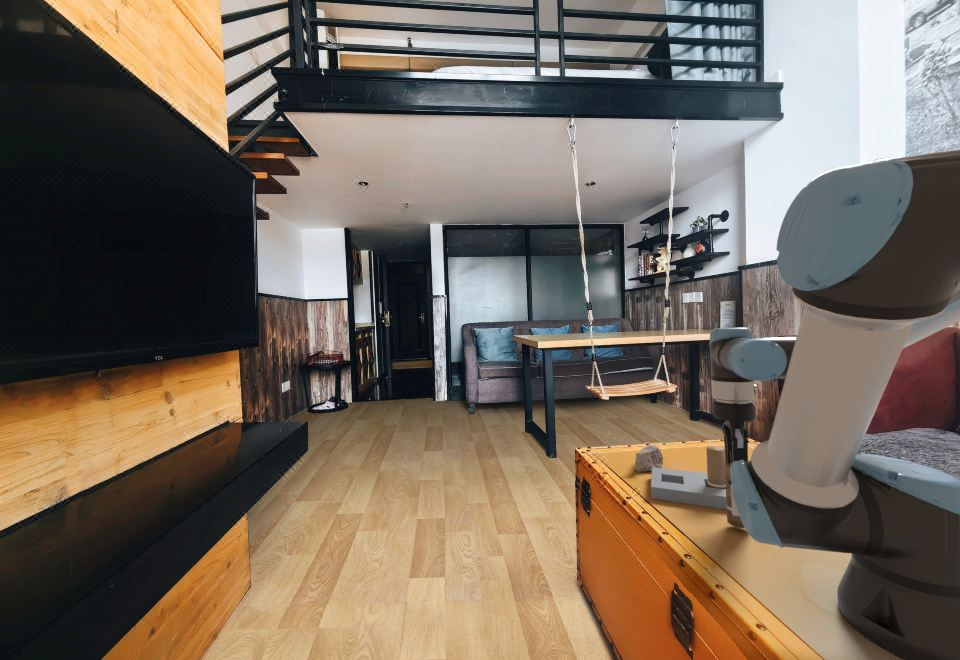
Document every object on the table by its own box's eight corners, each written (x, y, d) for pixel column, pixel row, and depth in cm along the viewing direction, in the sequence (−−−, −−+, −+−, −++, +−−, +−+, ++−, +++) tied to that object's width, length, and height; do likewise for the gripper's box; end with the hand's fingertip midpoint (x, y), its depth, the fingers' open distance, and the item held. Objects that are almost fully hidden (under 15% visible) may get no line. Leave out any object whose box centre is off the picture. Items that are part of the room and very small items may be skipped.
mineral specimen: (658, 477, 107) (657, 456, 107) (632, 472, 111) (631, 452, 111) (666, 463, 117) (666, 443, 117) (642, 459, 121) (641, 440, 121)
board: (747, 512, 85) (745, 460, 85) (651, 498, 94) (649, 451, 94) (736, 487, 98) (734, 442, 98) (652, 477, 107) (650, 435, 107)
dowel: (752, 529, 76) (750, 471, 76) (728, 526, 78) (725, 468, 78) (748, 520, 80) (745, 464, 80) (725, 516, 82) (723, 462, 82)
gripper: (764, 409, 70) (770, 534, 70) (746, 394, 85) (750, 496, 85) (717, 407, 73) (723, 526, 73) (708, 393, 89) (712, 491, 88)
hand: (738, 510), depth 79 cm, fingers closed on dowel, 4 cm apart
